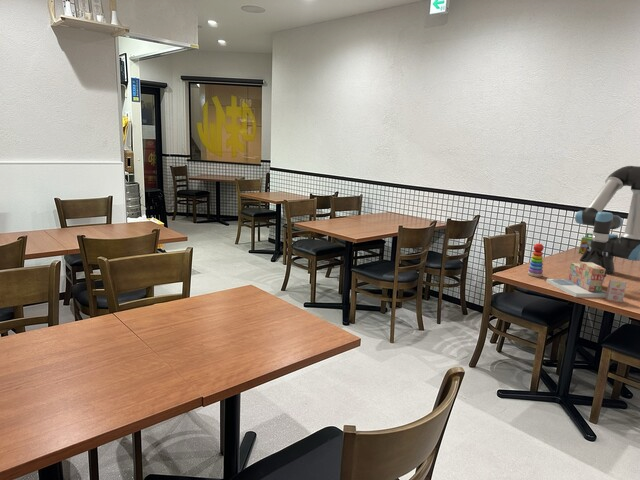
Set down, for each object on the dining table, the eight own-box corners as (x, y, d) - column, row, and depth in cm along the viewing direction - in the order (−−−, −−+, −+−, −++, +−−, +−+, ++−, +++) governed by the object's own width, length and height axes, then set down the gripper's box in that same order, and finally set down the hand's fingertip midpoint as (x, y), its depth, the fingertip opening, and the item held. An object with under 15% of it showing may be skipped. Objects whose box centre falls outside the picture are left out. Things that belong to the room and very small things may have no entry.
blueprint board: (576, 282, 245) (577, 278, 245) (608, 297, 222) (609, 293, 222) (546, 282, 243) (546, 278, 243) (575, 297, 220) (576, 292, 219)
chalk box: (578, 253, 323) (582, 233, 320) (580, 251, 330) (583, 231, 327) (593, 255, 317) (597, 235, 314) (594, 253, 325) (598, 233, 321)
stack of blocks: (568, 278, 244) (571, 257, 241) (579, 279, 244) (583, 258, 241) (588, 291, 223) (593, 267, 221) (601, 292, 223) (606, 268, 220)
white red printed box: (605, 298, 221) (609, 278, 219) (621, 300, 218) (625, 281, 216) (606, 300, 218) (610, 280, 216) (622, 303, 215) (626, 283, 213)
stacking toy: (541, 274, 258) (546, 243, 254) (543, 278, 251) (548, 245, 247) (526, 272, 261) (531, 241, 257) (528, 276, 253) (533, 244, 249)
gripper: (577, 235, 250) (570, 272, 254) (610, 245, 225) (602, 285, 230) (589, 236, 251) (582, 272, 255) (623, 246, 226) (615, 285, 231)
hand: (591, 278), depth 242 cm, fingers open, 13 cm apart
